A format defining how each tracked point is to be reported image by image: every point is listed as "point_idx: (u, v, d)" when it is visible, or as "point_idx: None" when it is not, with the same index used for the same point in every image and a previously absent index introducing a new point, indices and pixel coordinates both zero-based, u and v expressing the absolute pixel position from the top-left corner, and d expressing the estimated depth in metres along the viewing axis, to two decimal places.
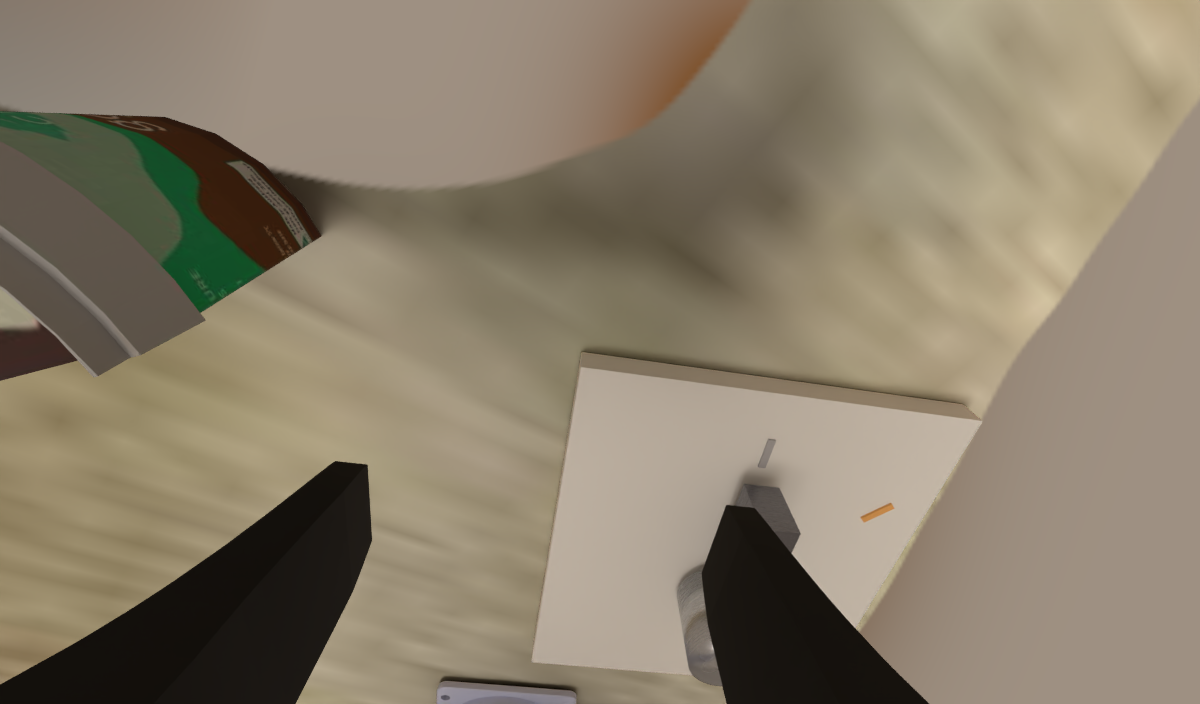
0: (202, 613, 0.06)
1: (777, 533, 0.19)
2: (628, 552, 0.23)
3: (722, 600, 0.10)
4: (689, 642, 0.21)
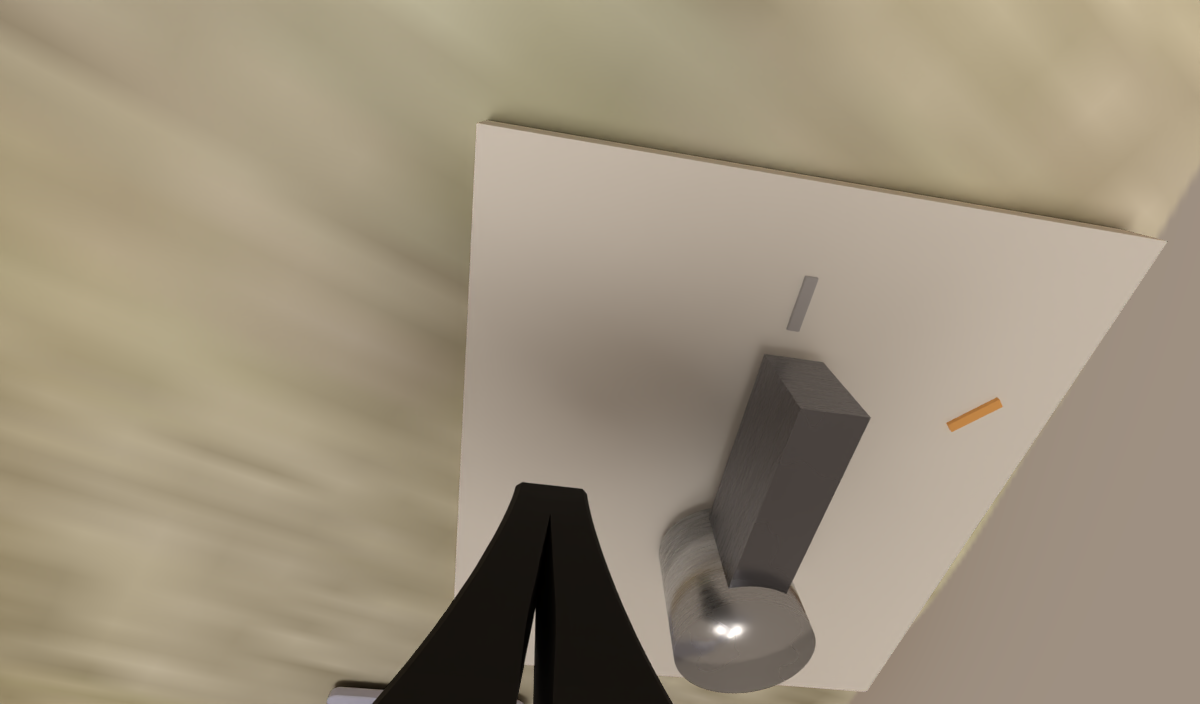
0: (498, 639, 0.06)
1: (829, 417, 0.10)
2: (582, 484, 0.15)
3: (540, 583, 0.10)
4: (676, 622, 0.13)
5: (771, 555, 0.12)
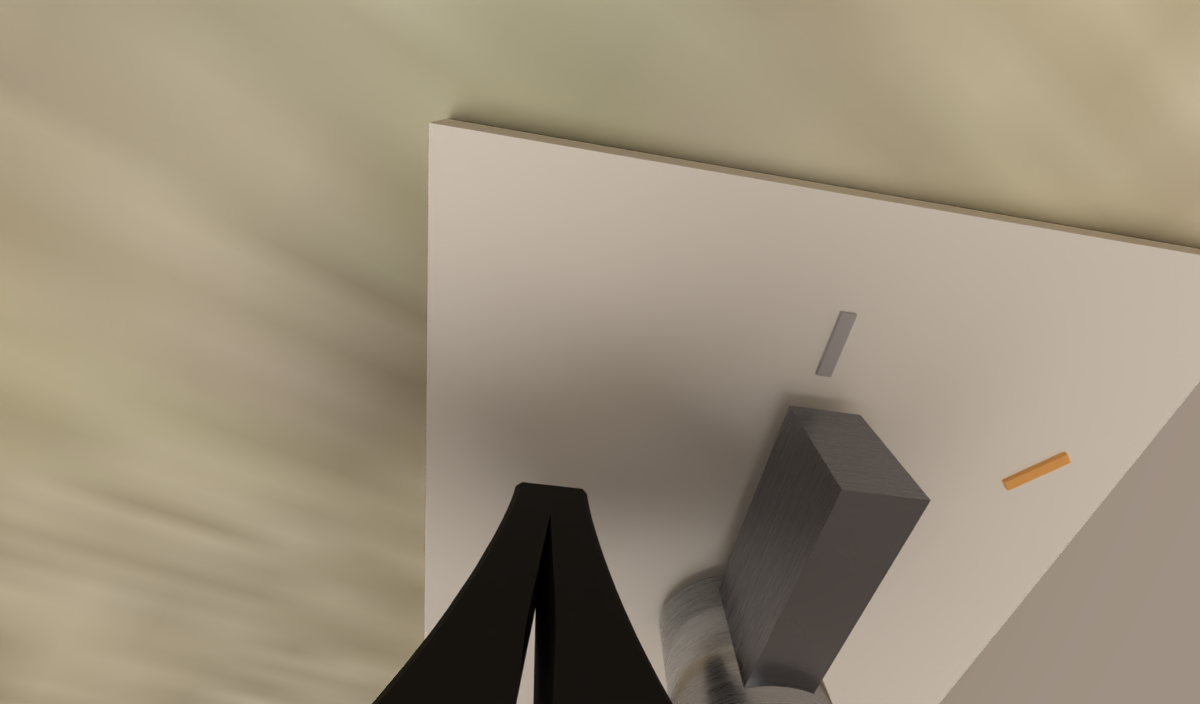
0: (498, 639, 0.06)
1: (877, 500, 0.08)
2: None
3: (540, 583, 0.10)
4: None
5: (797, 653, 0.10)
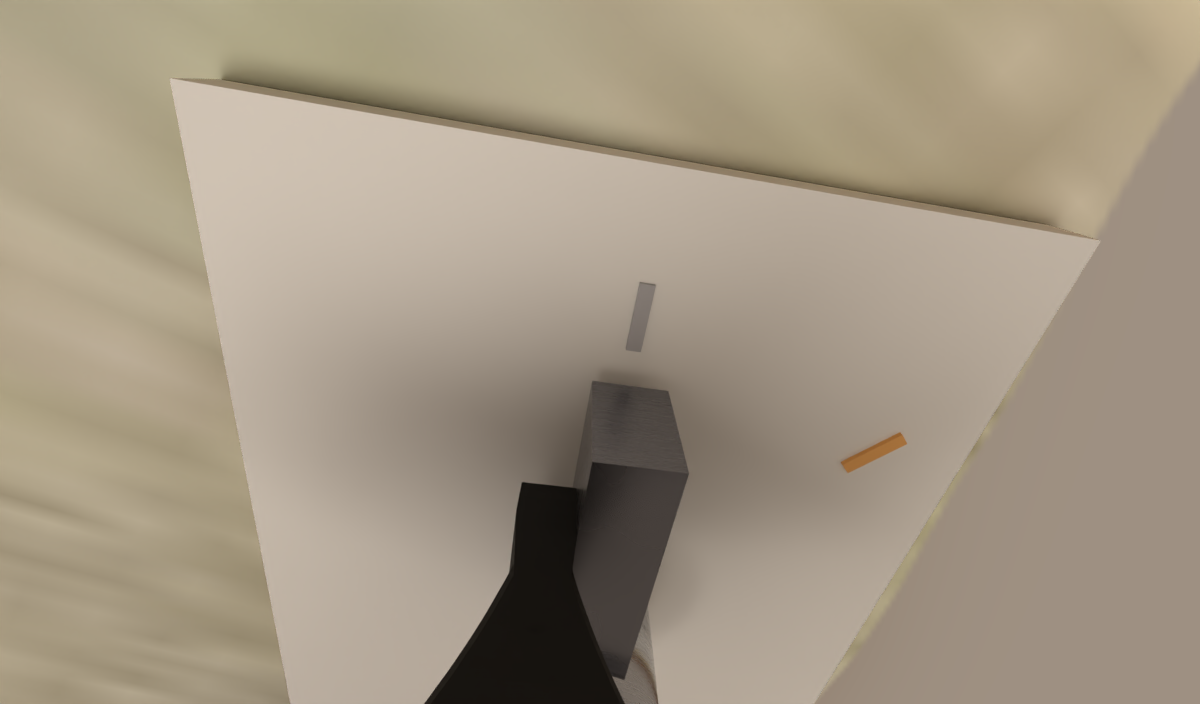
0: (539, 642, 0.06)
1: (633, 473, 0.08)
2: (406, 531, 0.12)
3: None
4: None
5: (595, 636, 0.10)
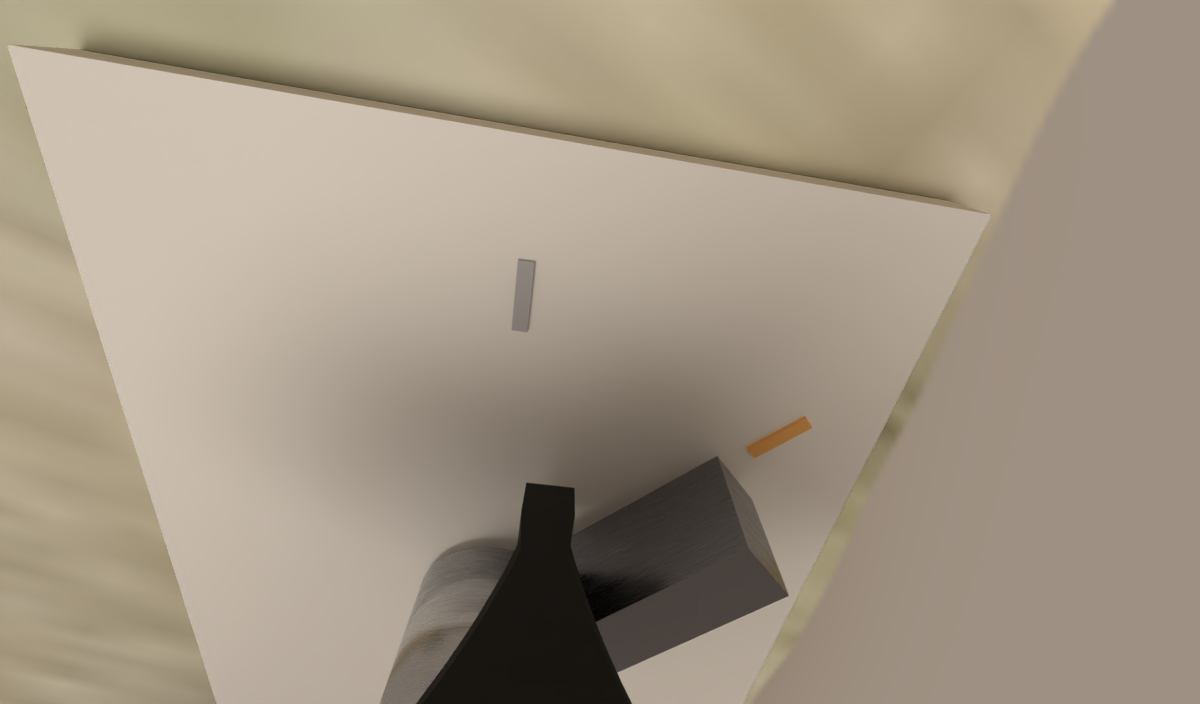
0: (533, 642, 0.06)
1: (760, 572, 0.09)
2: (310, 518, 0.12)
3: None
4: (416, 670, 0.10)
5: None
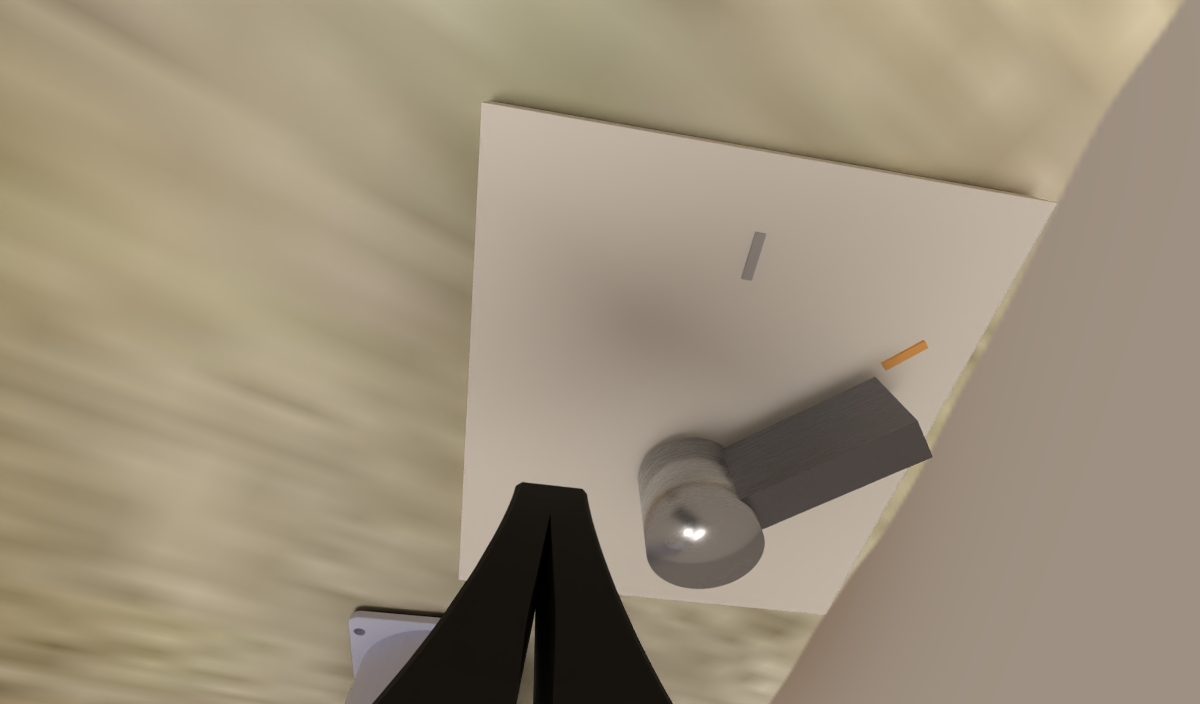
0: (498, 639, 0.06)
1: (919, 438, 0.14)
2: (571, 417, 0.17)
3: (540, 583, 0.10)
4: (684, 498, 0.15)
5: (787, 498, 0.15)
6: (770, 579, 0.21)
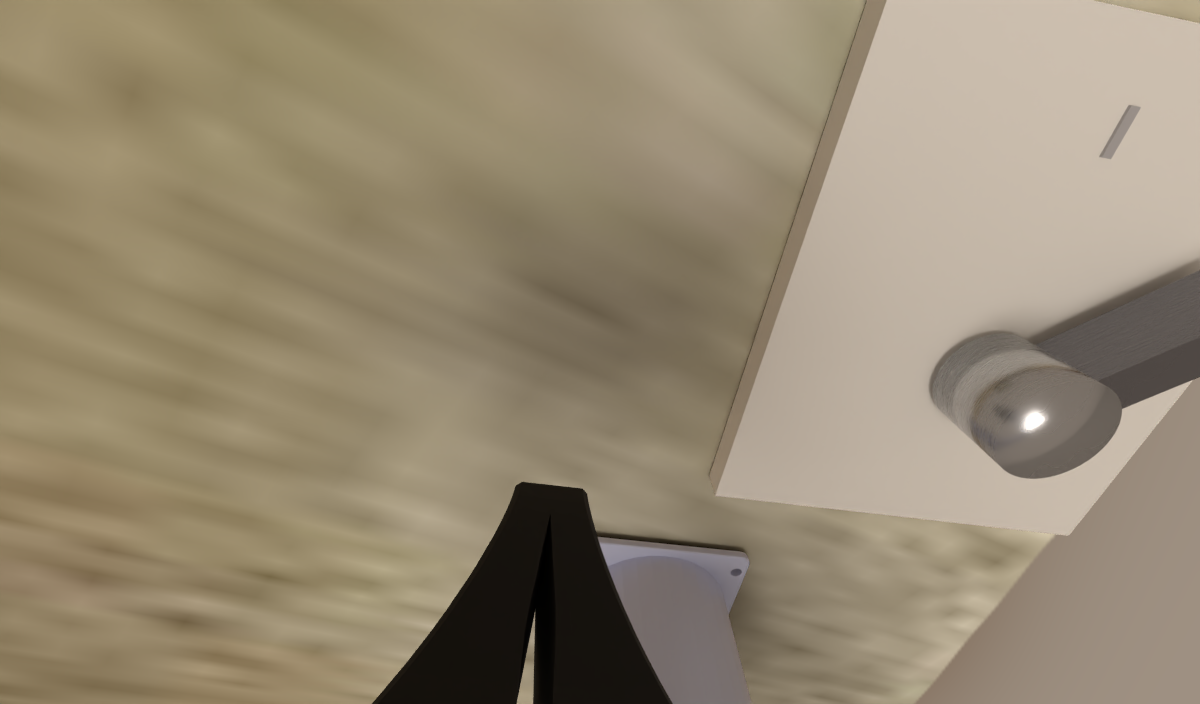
0: (499, 638, 0.06)
1: None
2: (883, 312, 0.17)
3: (540, 583, 0.10)
4: (1045, 377, 0.15)
5: (1145, 379, 0.15)
6: (1025, 496, 0.21)
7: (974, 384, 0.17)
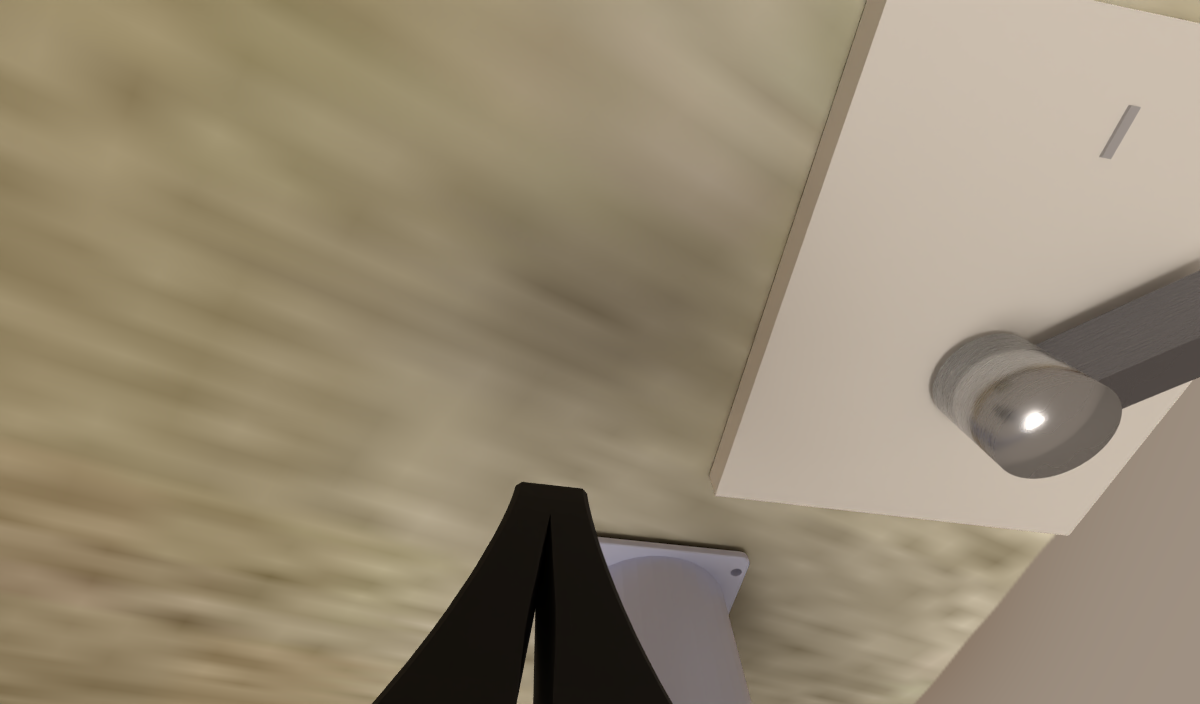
0: (499, 638, 0.06)
1: None
2: (883, 312, 0.17)
3: (540, 583, 0.10)
4: (1045, 377, 0.15)
5: (1145, 379, 0.15)
6: (1025, 496, 0.21)
7: (974, 384, 0.17)
